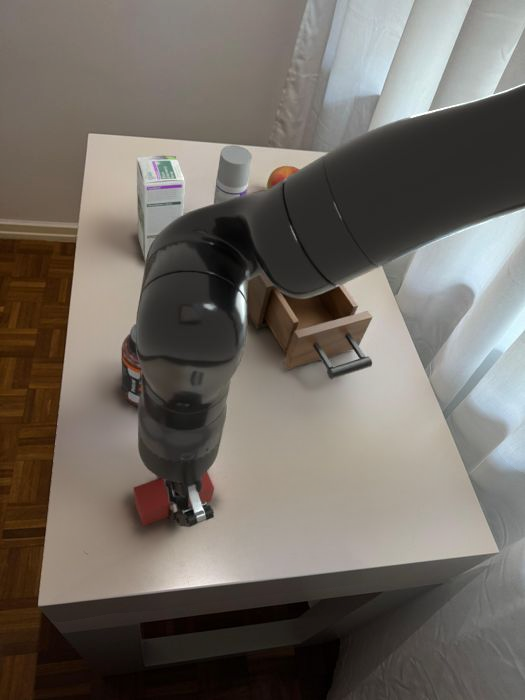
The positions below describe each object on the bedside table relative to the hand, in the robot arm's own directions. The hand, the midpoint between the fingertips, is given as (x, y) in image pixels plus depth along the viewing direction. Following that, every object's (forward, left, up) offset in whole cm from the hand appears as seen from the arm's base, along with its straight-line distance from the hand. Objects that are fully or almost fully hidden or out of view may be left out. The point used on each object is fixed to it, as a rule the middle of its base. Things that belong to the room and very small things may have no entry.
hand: (172, 499), depth 64 cm
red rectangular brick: (0, 0, 0) cm, 0 cm away
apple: (-36, -43, 0) cm, 56 cm away
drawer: (-26, -15, +1) cm, 30 cm away
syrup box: (-12, -39, 0) cm, 41 cm away
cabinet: (-26, -27, 0) cm, 37 cm away
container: (-23, -39, 0) cm, 45 cm away
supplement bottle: (-2, -15, 0) cm, 15 cm away
